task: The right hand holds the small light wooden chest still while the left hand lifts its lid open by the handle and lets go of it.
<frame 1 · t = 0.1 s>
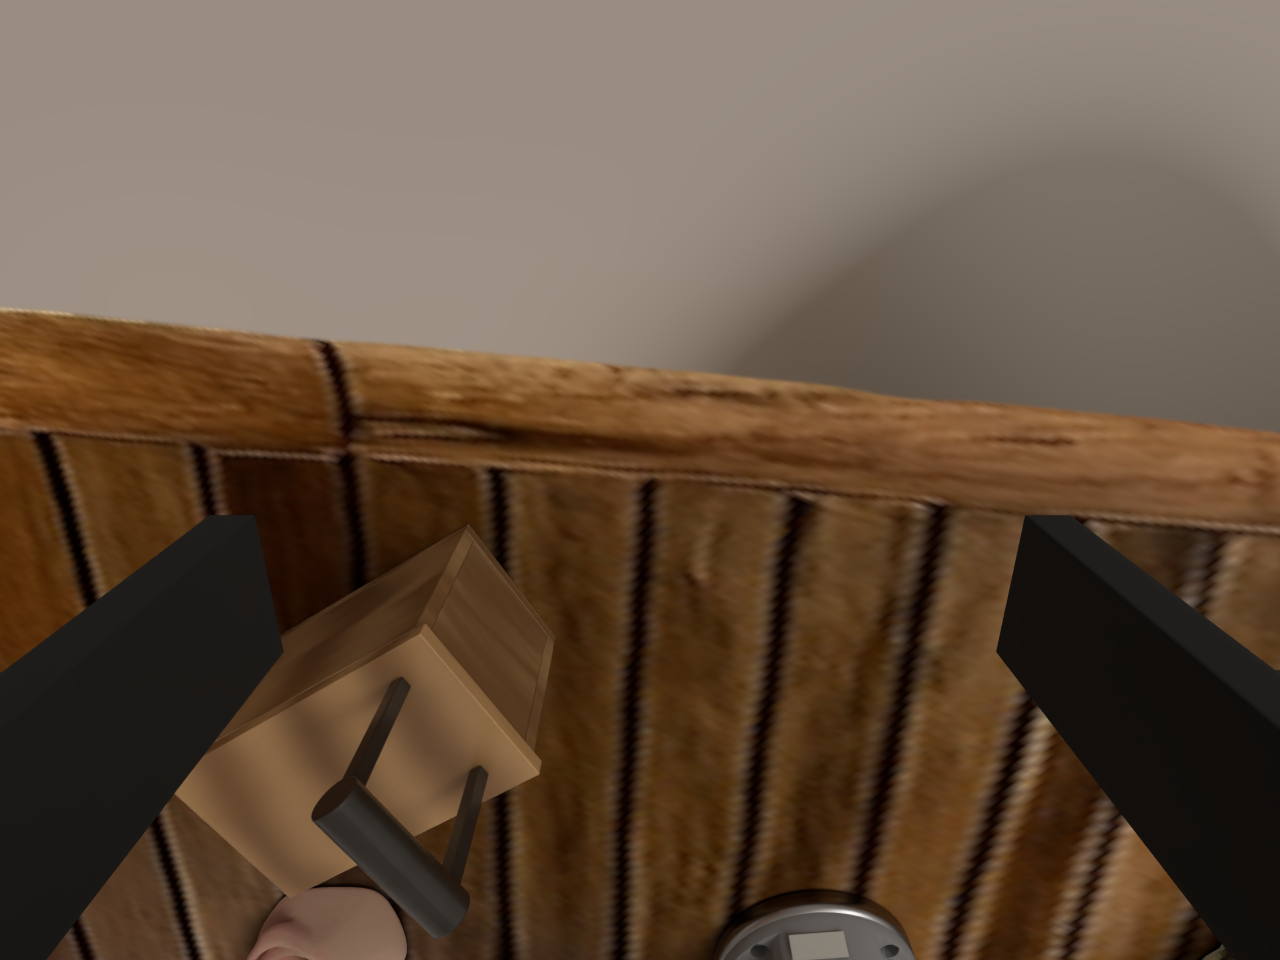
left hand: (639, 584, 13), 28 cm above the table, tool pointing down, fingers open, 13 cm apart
anatomical model: (330, 940, 56), on the table
chest: (416, 636, 46), on the table
lid: (319, 838, 31), point 16 cm above the table, hinge at 0.0°
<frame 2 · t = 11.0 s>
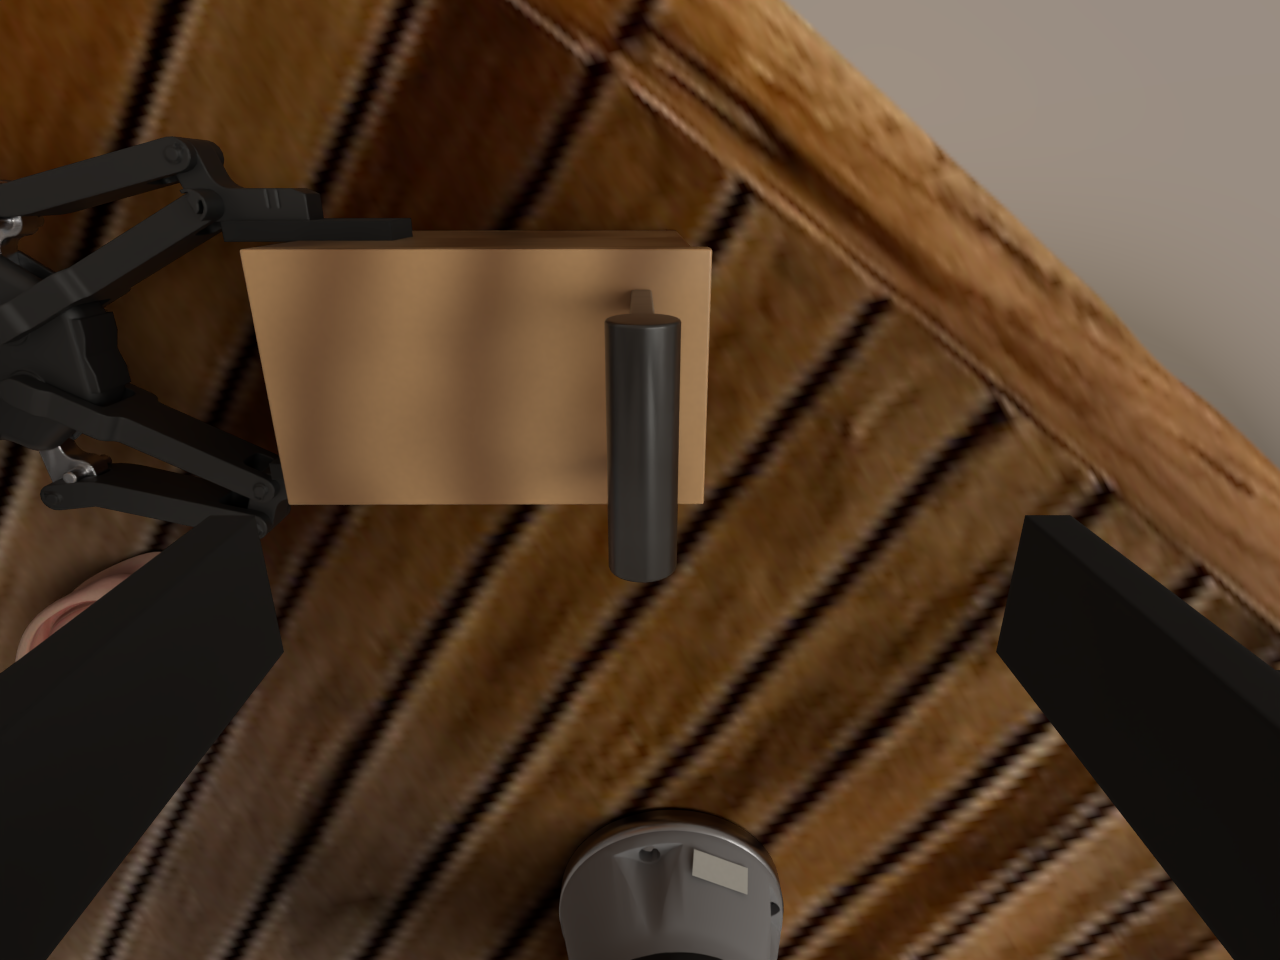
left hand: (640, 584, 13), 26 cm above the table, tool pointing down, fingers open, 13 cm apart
right hand: (415, 351, 31), fingers closed on chest, 9 cm apart
anatomical model: (166, 633, 44), on the table
chest: (526, 326, 37), on the table, touching right hand
lid: (464, 413, 23), point 16 cm above the table, hinge at 0.0°
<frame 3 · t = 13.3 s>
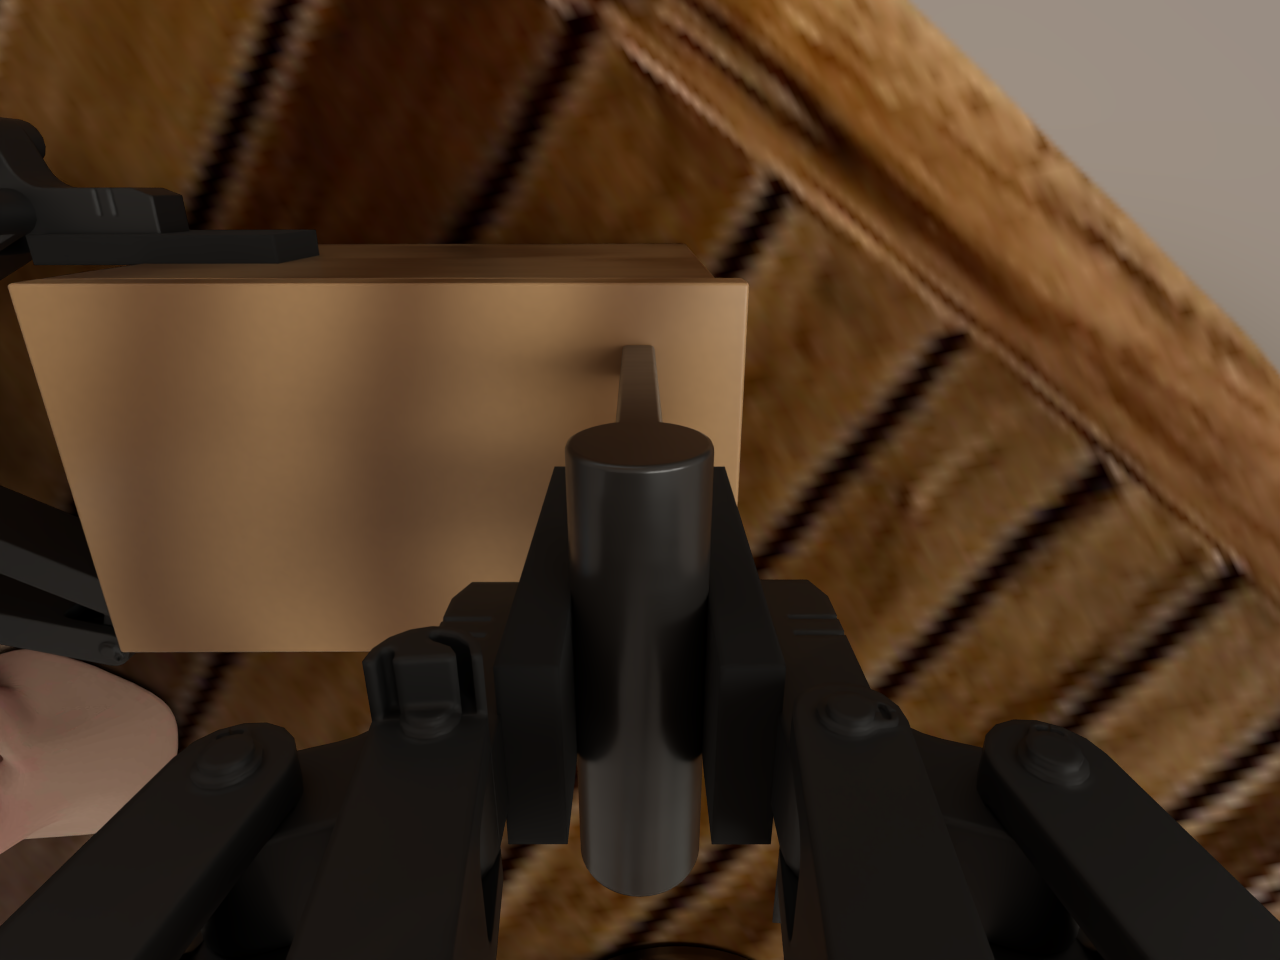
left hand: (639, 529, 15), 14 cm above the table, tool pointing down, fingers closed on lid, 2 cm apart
anatomical model: (46, 745, 35), on the table
chest: (488, 368, 28), on the table, touching right hand
lid: (348, 556, 14), point 16 cm above the table, hinge at -0.1°, touching left hand
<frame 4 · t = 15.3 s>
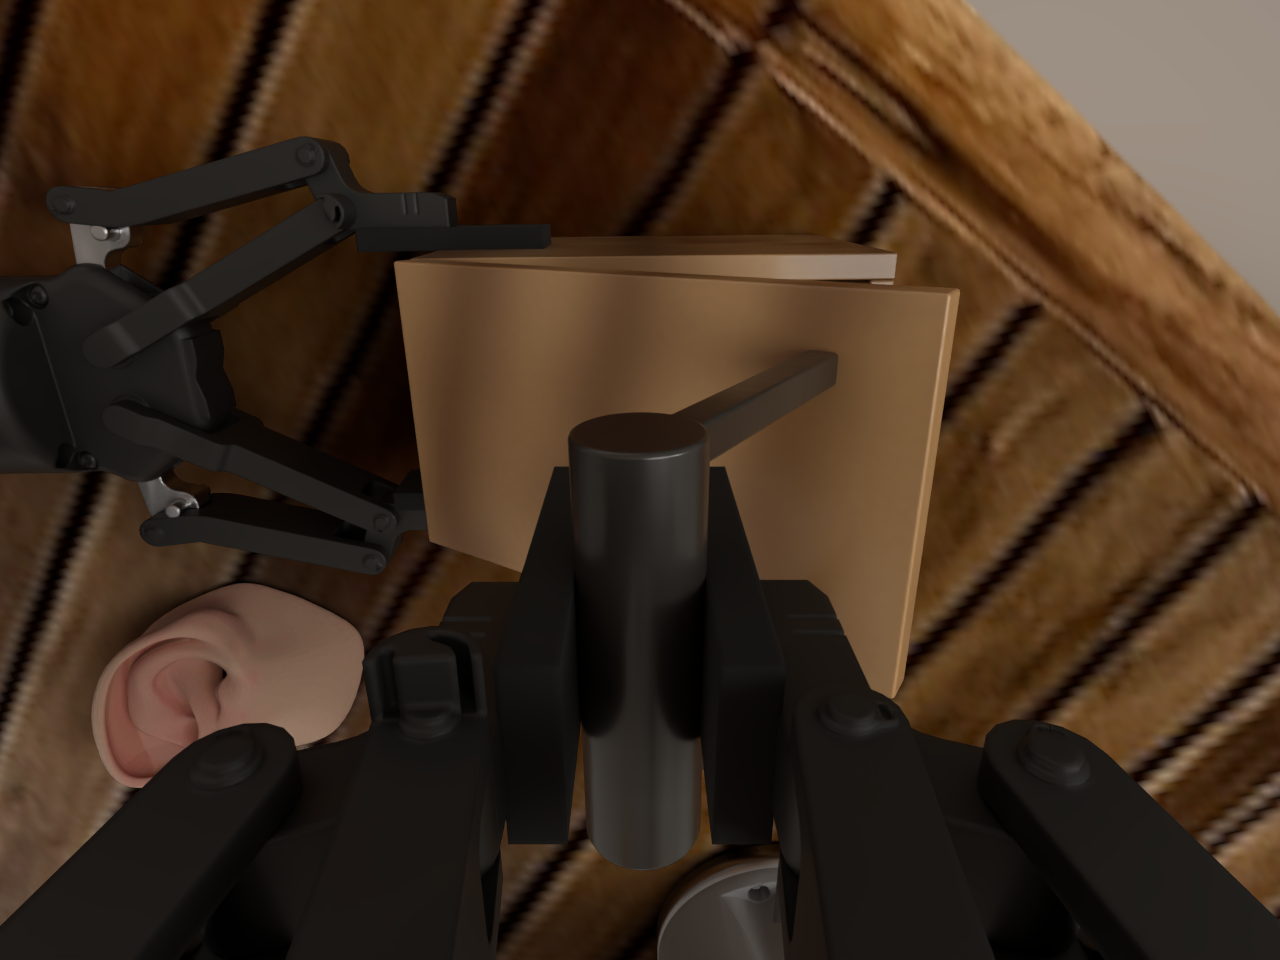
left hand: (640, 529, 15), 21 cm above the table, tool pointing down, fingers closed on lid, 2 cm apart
right hand: (554, 369, 29), fingers closed on chest, 9 cm apart
anatomical model: (248, 669, 41), on the table
chest: (647, 338, 34), on the table, touching right hand
lid: (522, 498, 17), point 19 cm above the table, hinge at 33.9°, touching left hand
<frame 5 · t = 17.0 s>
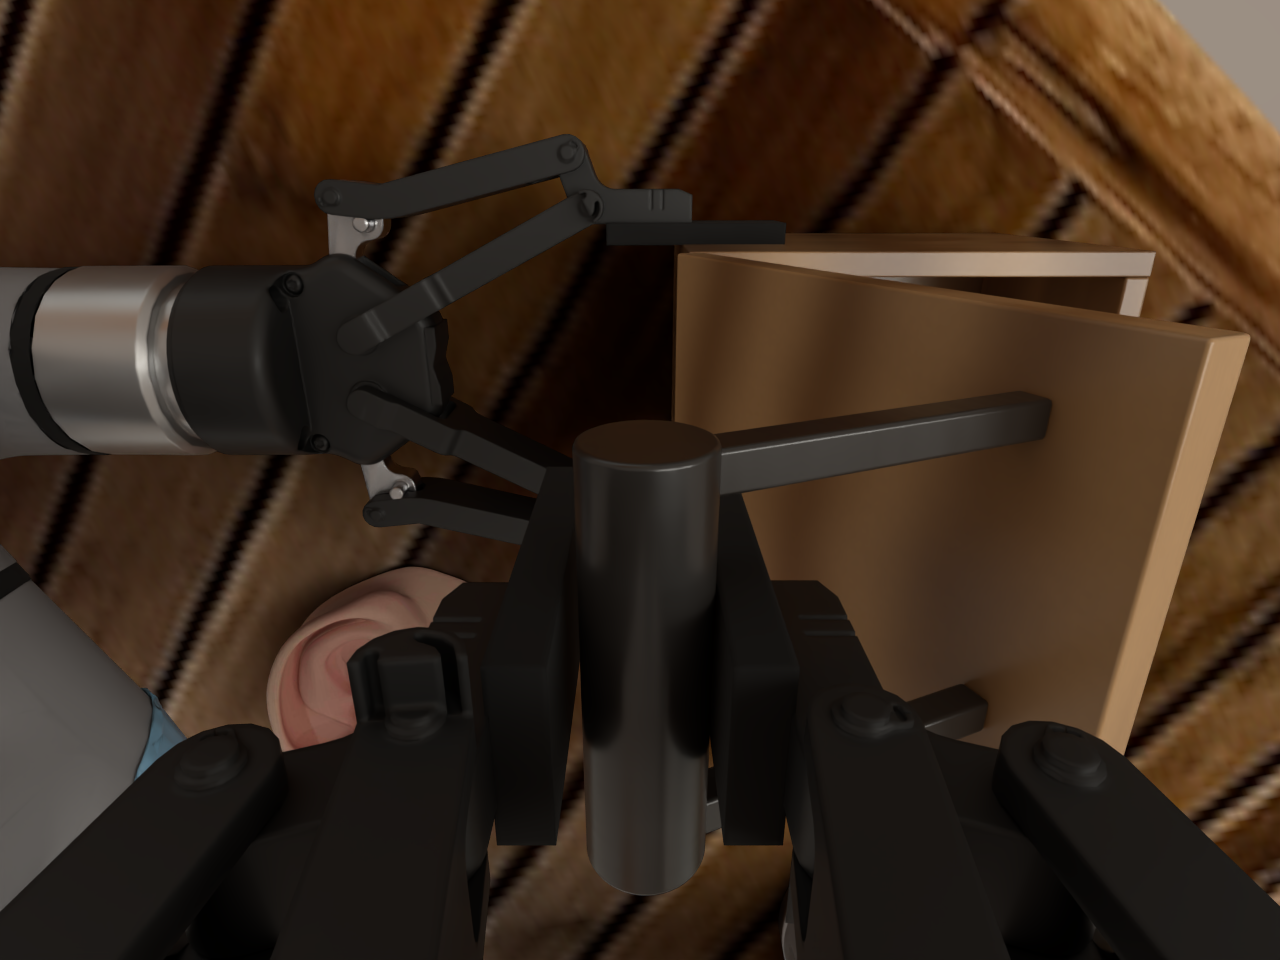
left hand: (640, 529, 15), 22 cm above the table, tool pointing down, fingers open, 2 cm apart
right hand: (770, 360, 30), fingers closed on chest, 9 cm apart
anatomical model: (407, 651, 42), on the table
chest: (827, 333, 35), on the table, touching right hand
lid: (687, 495, 17), point 20 cm above the table, hinge at 66.1°
when the right hand's fingers open (6 cm above the table, at t = 20.9 s): chest stays where it is, on the table.
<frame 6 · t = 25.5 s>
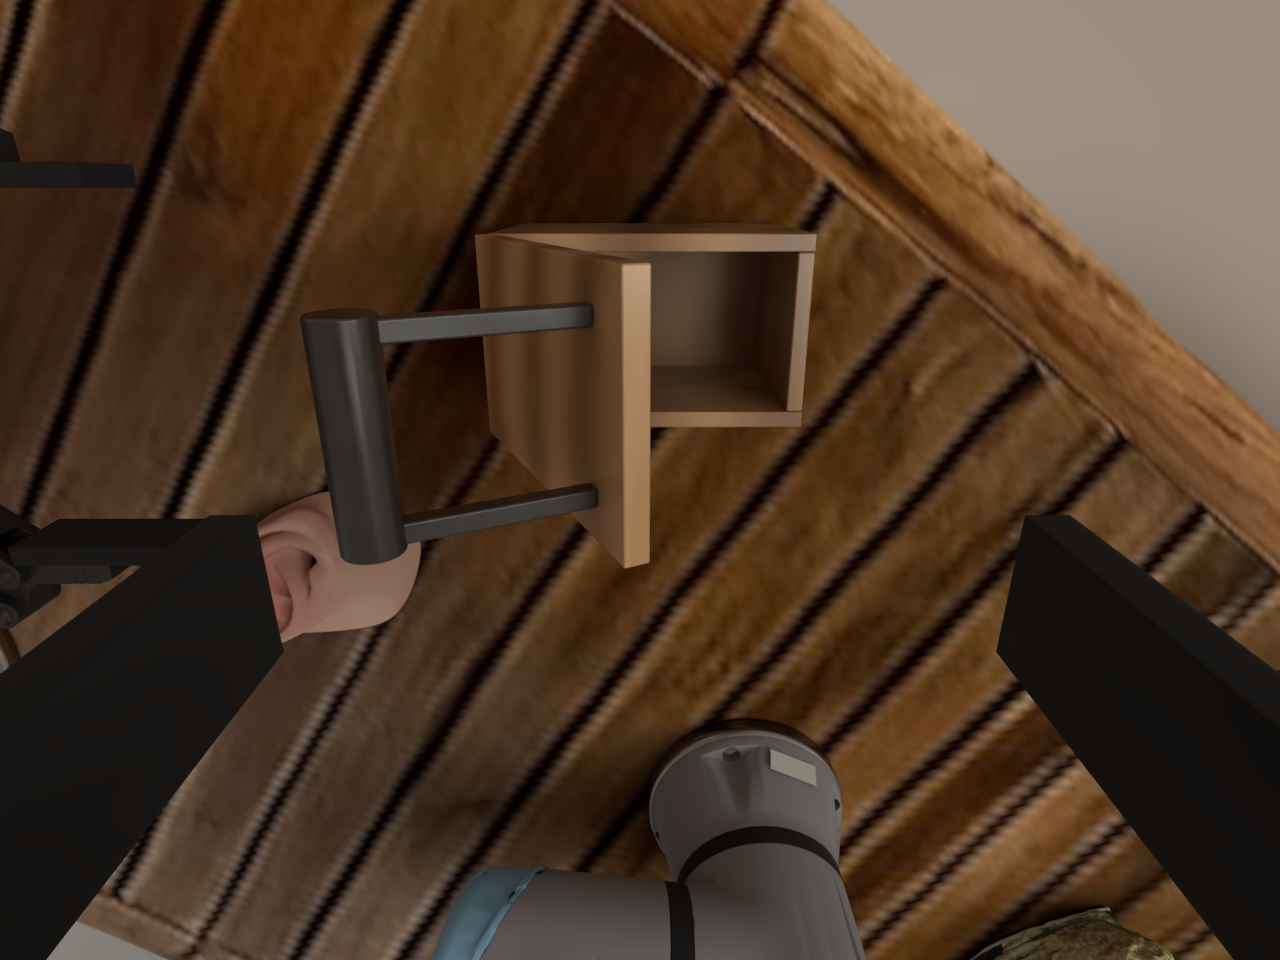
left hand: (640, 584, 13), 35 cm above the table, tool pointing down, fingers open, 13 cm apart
fossil: (1039, 948, 66), on the table
anatomical model: (329, 563, 52), on the table
chest: (648, 302, 45), on the table
lid: (442, 382, 26), point 20 cm above the table, hinge at 64.0°
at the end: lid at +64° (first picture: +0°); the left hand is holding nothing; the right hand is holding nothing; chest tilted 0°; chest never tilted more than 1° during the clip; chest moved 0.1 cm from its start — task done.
